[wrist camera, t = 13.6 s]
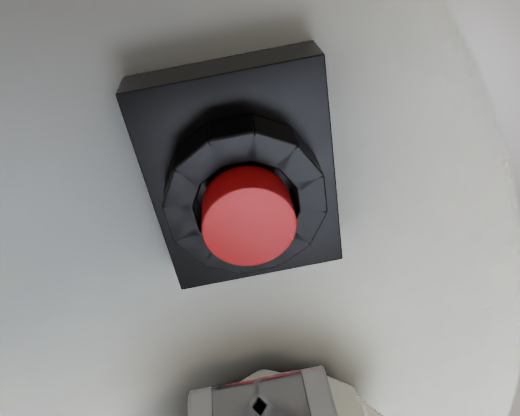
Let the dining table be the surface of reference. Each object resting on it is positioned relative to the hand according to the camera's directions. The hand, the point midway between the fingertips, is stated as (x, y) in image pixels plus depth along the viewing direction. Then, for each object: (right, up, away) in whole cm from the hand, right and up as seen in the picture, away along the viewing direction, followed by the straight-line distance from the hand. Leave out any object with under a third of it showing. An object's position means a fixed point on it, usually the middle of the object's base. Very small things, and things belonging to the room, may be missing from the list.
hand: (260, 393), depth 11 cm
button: (-1, +4, +9) cm, 10 cm away
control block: (-1, +6, +12) cm, 13 cm away
